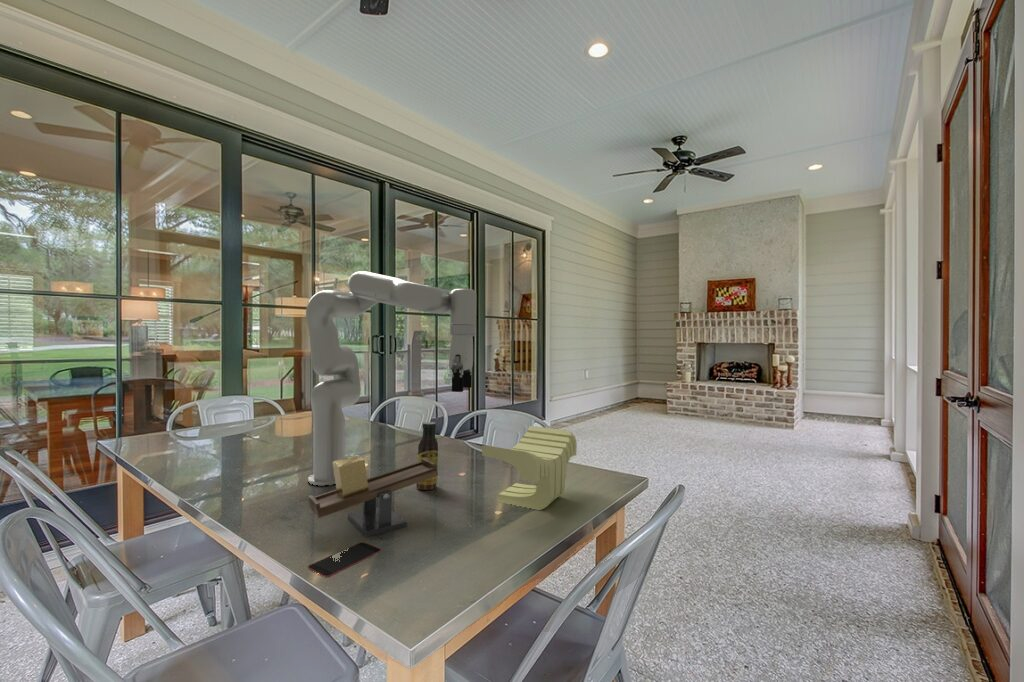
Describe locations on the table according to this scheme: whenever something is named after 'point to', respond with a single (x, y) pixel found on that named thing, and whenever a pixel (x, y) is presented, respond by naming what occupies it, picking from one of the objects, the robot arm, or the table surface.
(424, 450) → the sauce bottle
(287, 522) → the table surface
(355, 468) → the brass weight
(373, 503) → the beam stand
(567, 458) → the slatted curved stool
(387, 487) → the brown long channel
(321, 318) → the robot arm
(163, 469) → the table surface
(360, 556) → the smartphone
